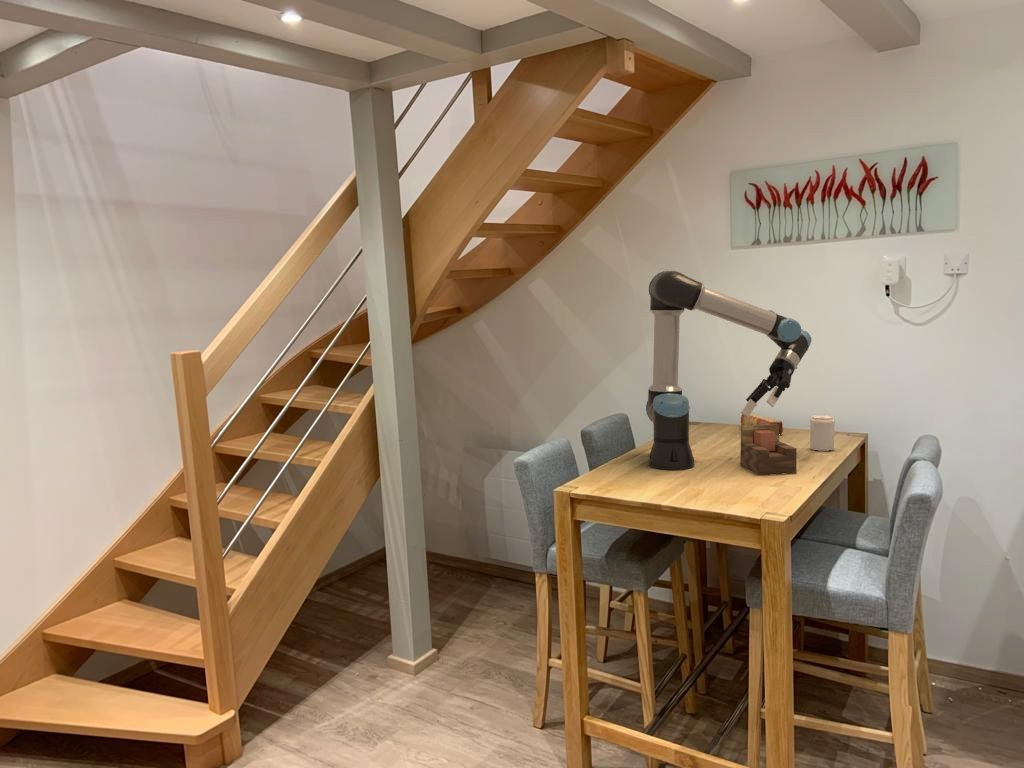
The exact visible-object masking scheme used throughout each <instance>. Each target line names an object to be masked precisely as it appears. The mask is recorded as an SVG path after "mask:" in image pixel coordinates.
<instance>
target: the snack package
mask: <svg viewBox="0 0 1024 768" xmlns="http://www.w3.org/2000/svg"><path fill="white" fill-rule="evenodd" d="M762 424H779V434H781V435H782V434H783V431H784V430H783V427H784V426H783V424H784V423H783V421H782V420H780V419H775V418H772V417H769V416H766V415H761V414H758V413H754V412H753V411H752V412H751V414H750V416H749V417H748V418H746V417H745V416H744V415H743V414H742V413H741V416H740V427H741V426H744V425H762Z"/></svg>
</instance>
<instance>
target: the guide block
mask: <svg viewBox="0 0 1024 768" xmlns="http://www.w3.org/2000/svg"><path fill="white" fill-rule="evenodd" d="M758 429H768V430H770V431H773V432H775V451H770V450H768V449H766V448H764V447H762V446H759V445H757V444H755V443H753V430H758ZM797 451H798V450H797V447H794V446H792V445H790V444H787V443H784V442H782V441H780V435H779V424H762V425H744V426H741V425H740V467H741V468H744V469H745V470H748V471H749V470H750V471H749V472H751V471H752V472H751V473H753V472H754V473H753V474H755V473H756V474H755V475H757V474H758V475H757V476H759V475H760V476H771V475H770V474H776V475H783V474H782V473H792V474H796V473H797V455H798V454H797Z"/></svg>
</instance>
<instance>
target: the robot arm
mask: <svg viewBox="0 0 1024 768" xmlns="http://www.w3.org/2000/svg"><path fill="white" fill-rule="evenodd" d="M648 295H649V297H650V299H649V300H650V302H649V304H650V305H649V306H650V308H649V310H650V311H649V312H651V313H652V314H653V316H654V317H653V318H654V323H653V324H654V325H653V359H652V360H653V365H652V367H653V368H652V369H653V370H652V371H653V372H652V384H651V386H649V387H648V388H647V389H648V391H647V392H648V393H647V394H648V395H647V398H648V399H647V401H646V404H645V412H646V415H647V417H648V418H649V420H650V422H652V424H653V442H652V447H651V450H650V453H649V456H648V466H649V467H651V468H653V469H658V470H666V471H667V470H669V471H678V470H680V471H681V470H686V469H687V470H688V469H690V468H693V467H694V466H695V457H694V455H693V450H692V447H691V445H690V402H689V399H688V397H687V396H685V395H683V389H682V387H681V386H680V385H679V356H680V355H679V354H680V353H679V351H680V320H681V319H680V318H681V315H682V314H683V313H684V312H685V310H689V311H695V310H698V311H700V312H704V313H706V314H708V315H711V316H714V317H717V318H719V319H722V320H724V321H727V322H731V323H733V324H736V325H739V326H741V327H744V328H747V329H750V330H753V331H756V332H757V333H760V334H763V335H765V336H767V337H768V338H769V339H770V340H772V342H773V343H775V344H776V345H777V346H778V347H779V348H780V350H779V351H778V353H777V355H776V356H775V357H774V360H773V361H772V362H771V364H770V366H769V368H768V371H769V375H768V376H767V377H766V379H765V378H763V379H762V380H761V381H760V383H759V385H758V386H757V387H756V388H755V389H754V390H753V391H752V392H751V393H750V395H749V396H748V397H747V398H746V399H745V400H746V401H747V403H746V404H745V406H744V408H743V409H742V411H741V415H742V414H743V415H744V416H745V417H746V418H748V417H749V416H750V414H751V412H752V413H753V411H754V409H755V407H757V406H758V405H757V404H758V402H759V401H760V400H761V399H762V398H763V397H764V396H765V395H766V394H767V393H768V392H770V394H769V397H768V398H767V400H766V401H765V402H766V403H767V404H768V405H770V407H771V408H773V407H775V405H776V403H777V402H778V400H779V398H780V397H781V395H782V394H783V392H785V390H786V389H790V387H791V381H792V376H793V374H794V372H795V371H796V370H798V365H799V364H800V363H801V361H802V359H803V357H804V356H805V354H806V353H807V352H808V351H809V348H810V346H811V344H812V340H813V339H812V336H811V334H810V333H809V332H808V331H806V330H804V329H802V326H801V324H800V322H799V321H797V320H796V319H793V318H791V317H789V318H788V317H786V316H783V315H781V314H778V313H776V312H775V311H774V310H773V309H764V308H761V307H759V306H756V305H753V304H751V303H748V302H746V301H743V300H740V299H738V298H735V297H732V296H729V295H726V294H724V293H721V292H718V291H715V290H712V289H710V288H708V287H705V285H704V283H703V282H700V281H698V280H696V279H693V278H691V277H689V276H687V275H685V274H683V273H682V272H680V271H676V270H664V271H660V272H658V273H657V274H656V275H654V276H653V277H652V279H651V281H650V282H649V285H648ZM771 391H772V392H771Z"/></svg>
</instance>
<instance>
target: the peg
mask: <svg viewBox="0 0 1024 768" xmlns="http://www.w3.org/2000/svg"><path fill="white" fill-rule="evenodd" d="M753 443H755V444H757V445H759V446H762V447H764V448H766V449H768V450H770V451H775V432H773V431H770V430H768V429H758V430H753Z"/></svg>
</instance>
